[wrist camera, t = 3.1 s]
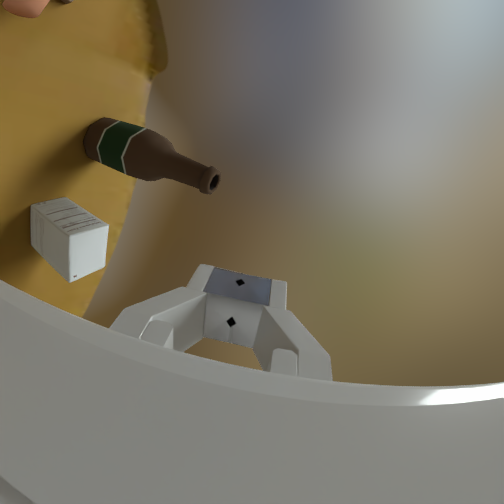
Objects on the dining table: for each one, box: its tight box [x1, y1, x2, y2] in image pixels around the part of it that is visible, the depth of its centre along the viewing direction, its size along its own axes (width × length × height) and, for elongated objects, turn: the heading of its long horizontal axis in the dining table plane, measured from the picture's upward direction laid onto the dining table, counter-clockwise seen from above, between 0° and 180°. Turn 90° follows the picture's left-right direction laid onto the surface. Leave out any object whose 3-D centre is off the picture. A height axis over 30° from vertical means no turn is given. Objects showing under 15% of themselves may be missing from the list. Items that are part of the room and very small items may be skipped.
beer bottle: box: [83, 117, 221, 194], centre depth 37 cm, size 8×8×24 cm
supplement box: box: [31, 197, 109, 283], centre depth 35 cm, size 7×7×13 cm
